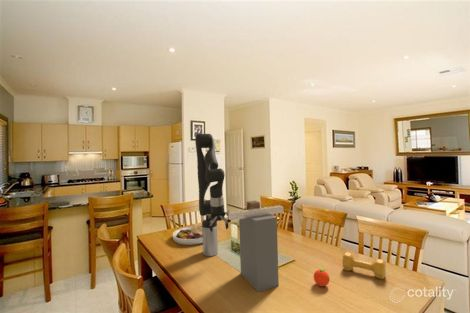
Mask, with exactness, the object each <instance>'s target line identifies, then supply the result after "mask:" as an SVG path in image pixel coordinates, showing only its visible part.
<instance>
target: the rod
mask: <svg viewBox="0 0 470 313" xmlns="http://www.w3.org/2000/svg"><path fill="white" fill-rule="evenodd" d="M283 213H284V206H282V205H280V204H279V205H273V206H266V207H260V208H257V209H250V210H247V209H243V210H238V211H229V213H228V215H229V220H231V222H232V221H237V220H238V221H239V219H245V218H252V217H258V216H265V215H277V214H283Z"/></svg>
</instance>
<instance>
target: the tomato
mask: <svg viewBox="0 0 470 313" xmlns="http://www.w3.org/2000/svg"><path fill="white" fill-rule="evenodd" d="M313 280H314V282H315V284H316V285H318V286H320V287H325V286H327V285H328V284H329V282H330V276H329V273H328V272H327V271H326V270H325V269H324V268H320V269H317V270H315V272H314V274H313Z"/></svg>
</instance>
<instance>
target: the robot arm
mask: <svg viewBox="0 0 470 313" xmlns="http://www.w3.org/2000/svg"><path fill="white" fill-rule="evenodd" d="M194 138H195V141H194V142H195V143H194V144H195V150H196V159H197V160H196V164H197V182H198V183H197V184H198V211H199V215H200V217H201V216H203V217H204V216H205V219H204V220H202V222H201V226H202V237H203V243H202V254H203V255H204V256H205V257H215V256H216V255H218V254H219V248H218V244H219V243H218V221H219V222H220V221H223V222H224V224H225V225H224V226H225V230H228V229H229V223H231V222H232V221H231V220H229V215H228V213H229V212H230V210H227V211H225V202H224V201H225V200H224V195H223V185H224V181H225V177H226V175H225V170H224V169H223V168H220V167H219V162H218V159H217V157H216V149H215V141H214V137H213V135H212V134H211V133H197V134H196V135H195V137H194ZM202 149H208V150H207V152H206V153H205V155H204V153H203V150H202ZM212 183H215V184H212ZM211 184H212V185H211ZM209 186H210V187H209ZM208 189H209V199H206V200H205V198H206V193H207V191H208ZM225 216H227V218H228V219H227V218H226V217H225Z"/></svg>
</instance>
